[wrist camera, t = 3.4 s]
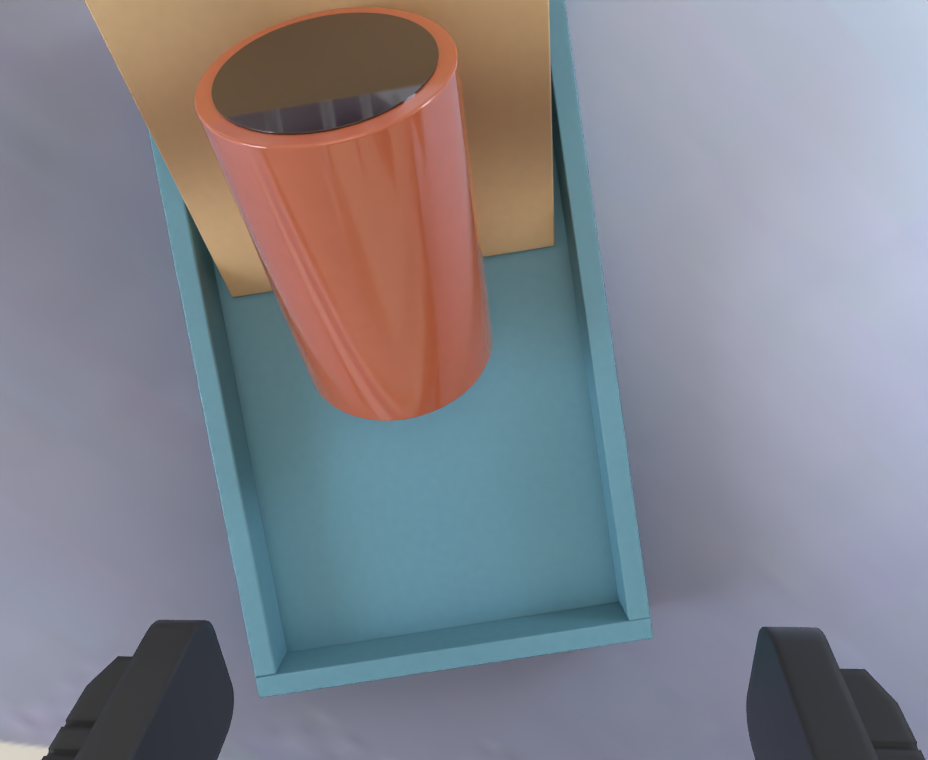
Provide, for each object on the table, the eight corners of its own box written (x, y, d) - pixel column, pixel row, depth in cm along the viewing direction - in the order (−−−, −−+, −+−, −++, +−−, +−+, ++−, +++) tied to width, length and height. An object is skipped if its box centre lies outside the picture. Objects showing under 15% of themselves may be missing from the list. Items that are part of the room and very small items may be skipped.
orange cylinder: (499, 388, 28) (522, 443, 16) (330, 415, 28) (237, 488, 17) (450, 74, 27) (439, -102, 15) (275, 102, 27) (134, -51, 15)
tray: (637, 609, 30) (653, 638, 27) (276, 664, 30) (258, 698, 27) (543, -60, 27) (551, -99, 25) (149, 6, 27) (116, -26, 25)
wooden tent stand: (552, 247, 28) (596, 218, 19) (238, 297, 28) (125, 294, 19) (514, -15, 27) (540, -184, 18) (189, 39, 27) (45, -100, 18)
